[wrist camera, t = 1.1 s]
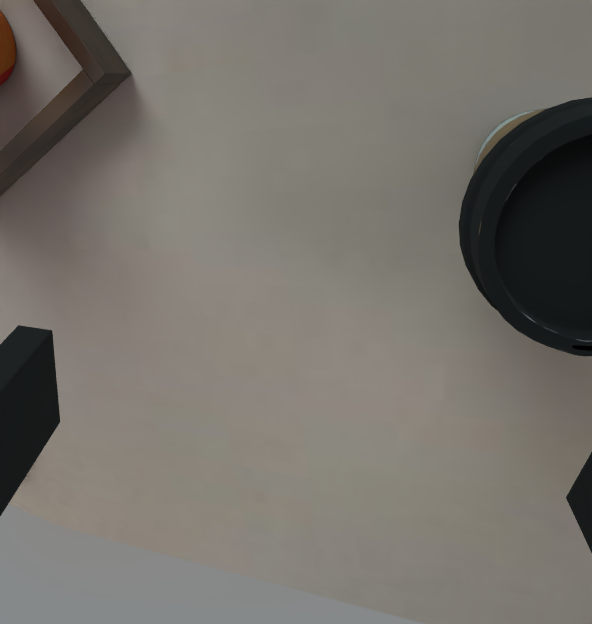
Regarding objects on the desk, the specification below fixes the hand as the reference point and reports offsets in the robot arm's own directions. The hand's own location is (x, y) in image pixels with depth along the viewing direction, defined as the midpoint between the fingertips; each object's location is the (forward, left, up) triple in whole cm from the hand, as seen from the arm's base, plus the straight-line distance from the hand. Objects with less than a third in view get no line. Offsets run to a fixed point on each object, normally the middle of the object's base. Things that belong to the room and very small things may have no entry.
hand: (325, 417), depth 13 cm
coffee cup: (-7, +2, -23) cm, 24 cm away
